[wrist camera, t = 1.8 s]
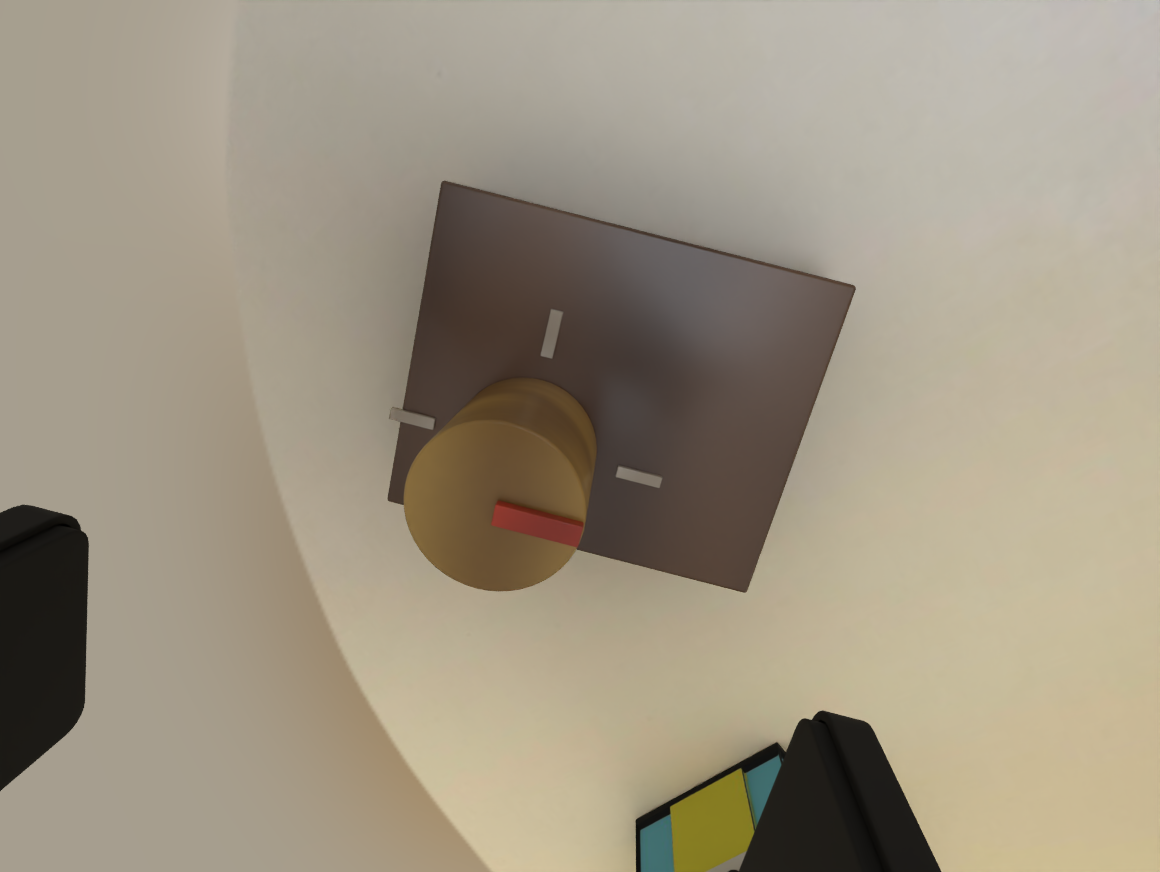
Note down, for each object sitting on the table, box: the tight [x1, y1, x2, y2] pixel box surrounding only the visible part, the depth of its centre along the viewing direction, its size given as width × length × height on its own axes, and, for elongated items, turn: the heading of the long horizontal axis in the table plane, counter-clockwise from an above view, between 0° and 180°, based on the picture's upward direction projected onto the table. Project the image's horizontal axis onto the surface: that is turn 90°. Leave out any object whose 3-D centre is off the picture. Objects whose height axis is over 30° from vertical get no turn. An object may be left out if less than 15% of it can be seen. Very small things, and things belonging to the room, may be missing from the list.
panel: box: [388, 181, 856, 592], centre depth 22 cm, size 12×11×3 cm
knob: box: [404, 378, 597, 591], centre depth 18 cm, size 4×4×5 cm
